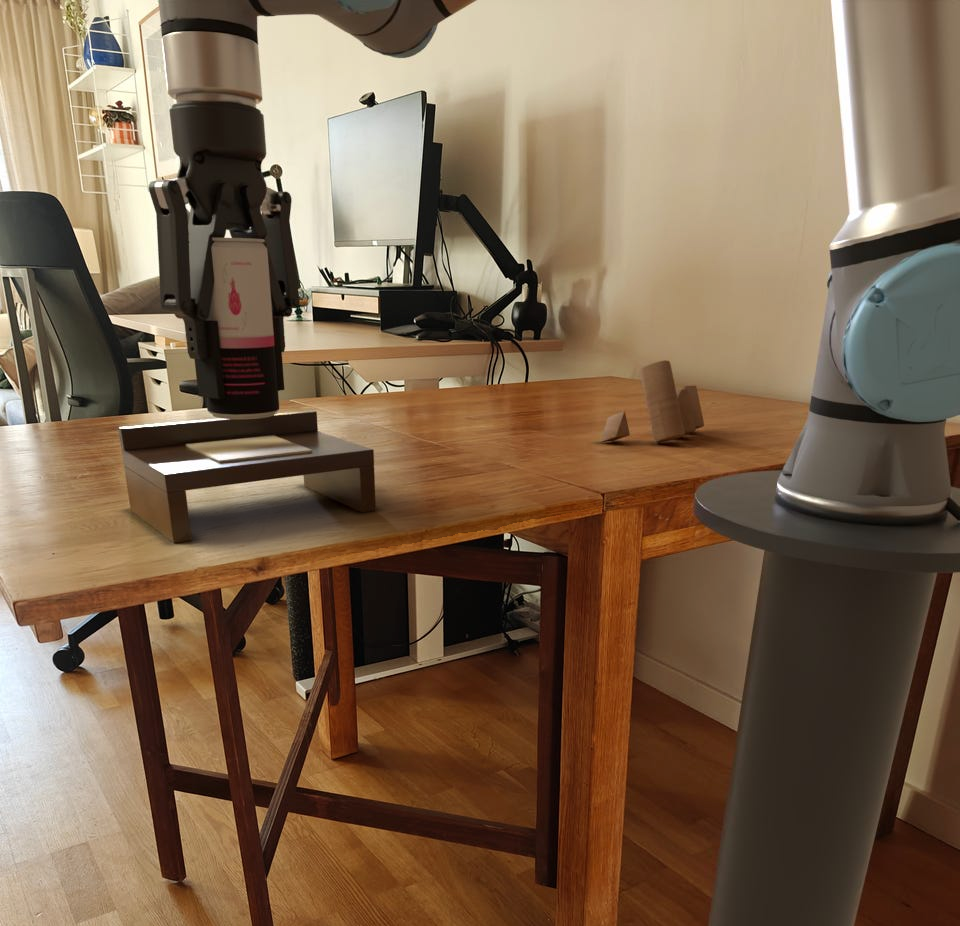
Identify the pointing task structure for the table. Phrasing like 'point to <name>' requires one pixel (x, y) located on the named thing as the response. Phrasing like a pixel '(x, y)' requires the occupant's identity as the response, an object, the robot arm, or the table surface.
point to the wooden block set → (661, 407)
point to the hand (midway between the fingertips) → (242, 392)
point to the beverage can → (244, 329)
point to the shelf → (237, 463)
